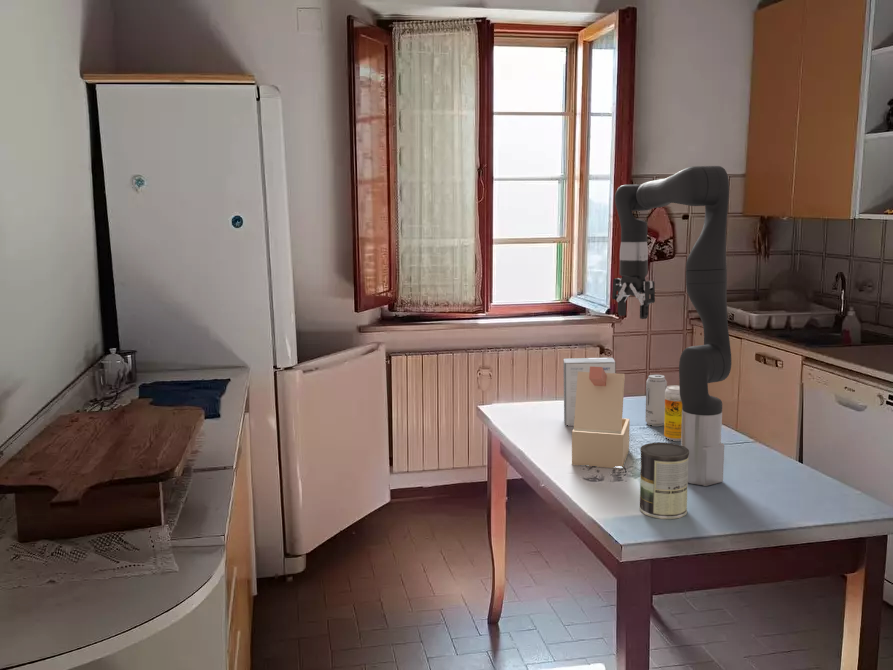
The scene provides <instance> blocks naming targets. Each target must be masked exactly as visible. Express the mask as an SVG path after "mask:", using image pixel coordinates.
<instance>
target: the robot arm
mask: <svg viewBox="0 0 893 670" xmlns="http://www.w3.org/2000/svg"><path fill="white" fill-rule="evenodd" d="M729 179H730V178H729V175H728V173H727V170H726V169H725V168H724V167H722V166H720V165H697V166H696V165H695V166H689V167H685V168H684V169H682V170H680V171H677V172H676V173H675V174H672V175H670V176H668V177H666V178H659V179H654V180H650V181H646V182H643V183H642V184H623V185H620V186H618V188H617V190H616V191H615V194H614V202H615V207H616V211H617V215H618V220H619V224H620V248H619V275H620V276H621V277H617V278H613V280H612V295H611V298H612V300H615V301H616V302H617V314H618V316H620V317H621V316H626V315H627V302H626V301H627V299H628V297H630V296H633V297H635V298H636V299H638V302H639V303H640V305H639V319H641V320H646V319H648V318H649V309H650V308H649V306H650V304H654V303H655V302H656V293H655V284H656V283H655V281H654V280H646V276H647V275H648V270H649V268H648V266H649V265H648V262H649V261H648V260H649V249H648V248H649V247H648V223H647V221H645V220H643V219H639V218H636V217H635V216H634V214H633V212H637V211H638V212H639V211H640V212H641V211H642V212H643V211H650V210H653V209H657V208H662V207H666V206H669V205H671V204H679V205H685V206H689V207H704V221H703V227H702V230H701V231H700V234H699V236H698V238H697V240H696V241H695V243H694V245H693V247H692V249H691V251H689V254H688V256H687V258H686V263H685V287H686V293H687V295H688V298H689V299H690V301H691V304H692V305H693V307H694V309H695V311H696V313H697V314H698V316H699V318H700V319H701V323H702V329H703V344H700V345H692V346H688V347H686V348H684V349H683V351H682V352H681V354H680V357H679V363H678V379H679V380H678V383H679V385H678V386H679V389H680V398H681V401H682V432H681V441H680V445H681V446H684V447H686V448H687V449H688V450H689V456H688V484H692V485H699V486H702V487H703V486H704V487H707V486H708V487H709V486H712V485H716V484H719V483H723V482H724V465H725V464H724V462H725V444H724V443H722V425H723V424H722V422H723V402H722V400H721V399H720V398H718V397H716V396H713V395H710V393H709V384H713V383H719V382H722V381H725V380H726V379H728V377H729V375H730V373H731V369H732V351H731V350H732V349H731V341H730V335H729V334H730V331H729V324H728V303H727V301H728V300H727V299H728V298H727V297H728V296H727V294H728V293H727V289H728V288H727V286H728V280H727V279H728V278H727V277H728V275H727V274H728V273H727V272H728V268H727V266H728V265H727V223H728V222H727V221H728V211H729V210H728V209H729V200H730V199H729V198H730V180H729Z"/></svg>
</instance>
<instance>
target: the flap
mask: <svg viewBox="0 0 893 670" xmlns="http://www.w3.org/2000/svg"><path fill="white" fill-rule="evenodd" d="M625 377H626V374H625V373H617V372H616V373H605V371H604V369H603V368H602V367H591V366H590V372H578V376H577V390H576V403H575V417H574V426H573V429H574V430H575V431H589V432H603V433H617V434H621V431H622V418H623V413H624V397H625V396H624V394H625V391H624V390H625Z"/></svg>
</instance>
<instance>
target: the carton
mask: <svg viewBox="0 0 893 670" xmlns="http://www.w3.org/2000/svg"><path fill="white" fill-rule="evenodd" d="M630 423H631V421H630V418H623V417H622V431H621V434H617V433H603V432H589V431H575V430H574V428H573V429H572V431H571V465H572V466H580V465H589V466H588V467H592V466H597V467H596V468H605V469H614V468H613V467H615V466H622V467H623V466H625V464H624V463H626V460H627V457H628V454H629V451H630ZM623 468H624V467H623Z"/></svg>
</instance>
